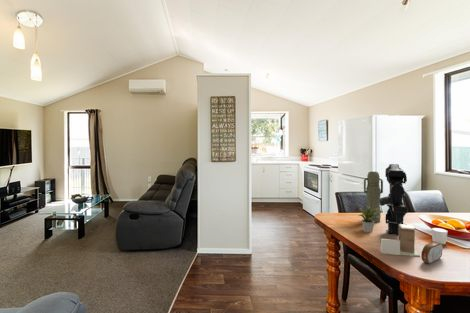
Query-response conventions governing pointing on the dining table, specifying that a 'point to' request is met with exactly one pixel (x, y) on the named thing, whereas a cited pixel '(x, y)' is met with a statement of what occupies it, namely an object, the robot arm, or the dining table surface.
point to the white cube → (439, 235)
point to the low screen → (390, 246)
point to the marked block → (406, 238)
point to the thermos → (373, 193)
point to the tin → (432, 252)
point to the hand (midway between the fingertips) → (395, 220)
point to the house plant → (368, 219)
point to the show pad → (410, 253)
